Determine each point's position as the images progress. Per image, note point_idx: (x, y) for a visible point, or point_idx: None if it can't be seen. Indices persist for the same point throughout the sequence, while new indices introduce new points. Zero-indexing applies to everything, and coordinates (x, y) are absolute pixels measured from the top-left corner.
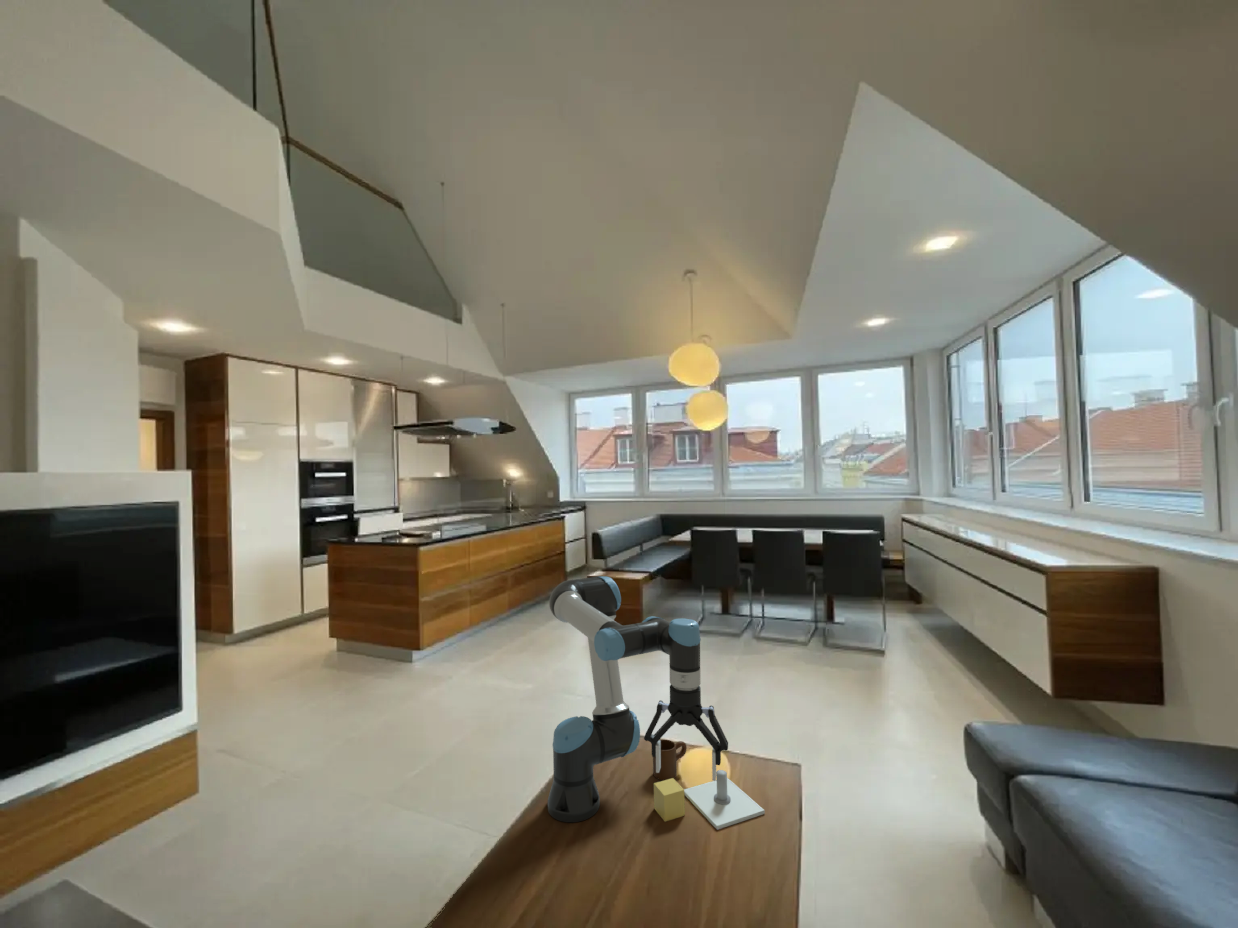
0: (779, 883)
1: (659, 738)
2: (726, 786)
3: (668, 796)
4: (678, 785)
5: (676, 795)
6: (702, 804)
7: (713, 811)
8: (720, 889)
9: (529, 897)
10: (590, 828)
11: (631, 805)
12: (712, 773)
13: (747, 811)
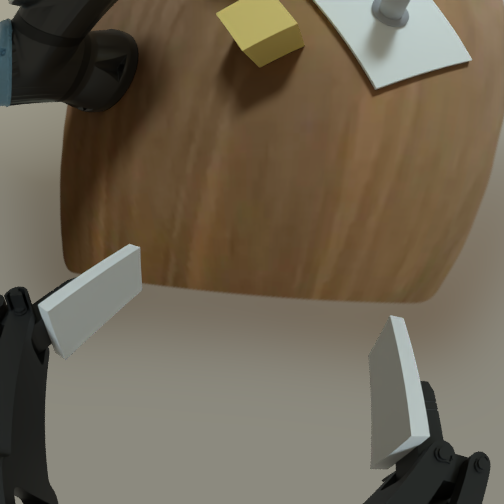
0: (451, 241)
1: (43, 382)
2: (407, 5)
3: (255, 46)
4: (281, 9)
5: (277, 36)
6: (345, 22)
7: (370, 44)
8: (354, 249)
9: (101, 252)
10: (130, 114)
11: (191, 36)
12: (370, 377)
13: (441, 55)
